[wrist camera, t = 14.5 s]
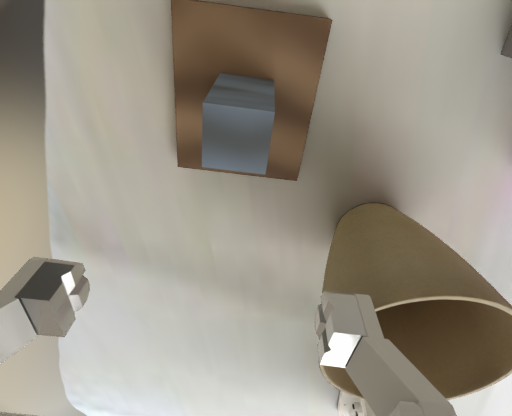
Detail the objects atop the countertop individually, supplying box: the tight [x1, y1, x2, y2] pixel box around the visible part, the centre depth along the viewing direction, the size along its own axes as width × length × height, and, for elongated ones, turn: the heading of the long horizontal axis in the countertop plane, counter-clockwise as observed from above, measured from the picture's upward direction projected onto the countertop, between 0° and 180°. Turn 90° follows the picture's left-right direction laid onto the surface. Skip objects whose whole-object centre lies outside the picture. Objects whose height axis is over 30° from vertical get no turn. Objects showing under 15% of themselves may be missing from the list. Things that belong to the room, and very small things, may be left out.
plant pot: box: [319, 203, 512, 400], centre depth 30 cm, size 15×15×16 cm
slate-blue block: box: [202, 73, 275, 175], centre depth 24 cm, size 4×4×8 cm
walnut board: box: [171, 0, 332, 181], centre depth 28 cm, size 14×12×2 cm
